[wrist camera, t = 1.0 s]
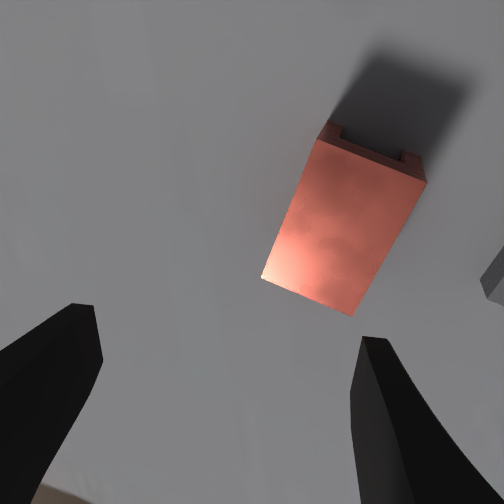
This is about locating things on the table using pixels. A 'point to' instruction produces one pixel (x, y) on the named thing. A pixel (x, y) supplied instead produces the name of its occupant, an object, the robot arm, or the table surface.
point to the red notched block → (343, 220)
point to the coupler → (495, 280)
